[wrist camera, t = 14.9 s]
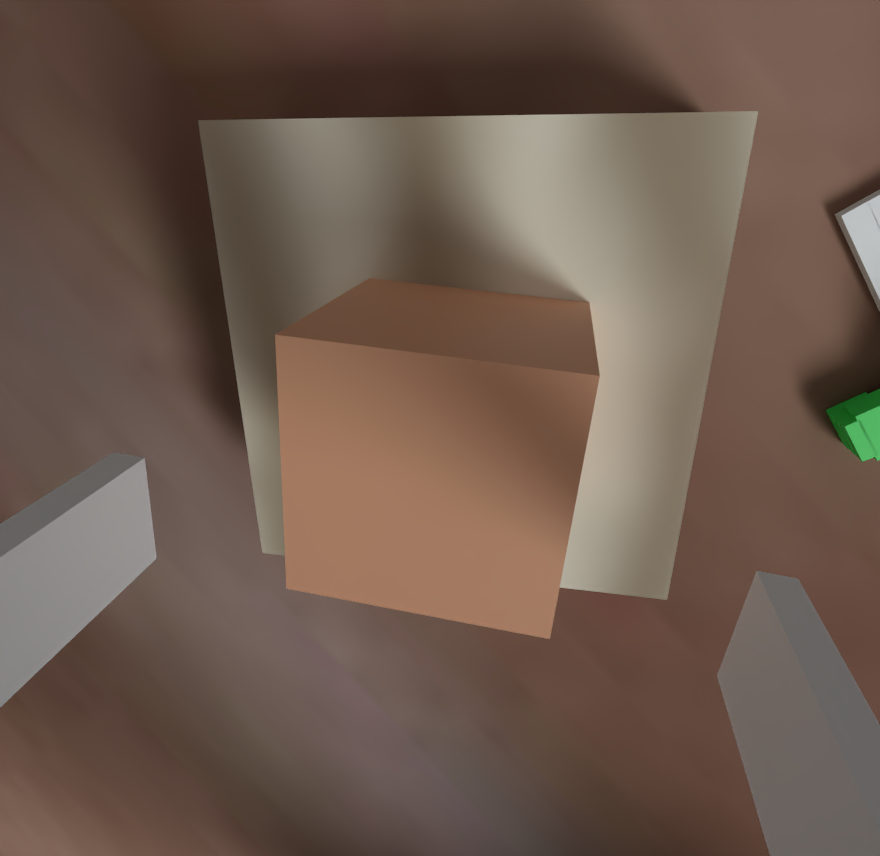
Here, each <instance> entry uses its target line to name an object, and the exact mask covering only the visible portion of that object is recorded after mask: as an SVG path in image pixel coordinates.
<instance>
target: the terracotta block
mask: <svg viewBox="0 0 880 856" xmlns="http://www.w3.org/2000/svg"><path fill="white" fill-rule="evenodd" d="M275 345H276V367H277V389H278V411H279V434H280V456H281V478H282V500H283V522H284V545H285V567H286V589H291V590H296V591H301V592H306V593H312V594H317V595H322V596H327V597H333V598H338V599H343V600H348V601H353V602H359V603H364V604H369V605H374V606H380V607H385V608H390V609H395V610H401V611H406V612H411V613H416V614H422V615H427V616H432V617H437V618H442V619H448V620H453V621H458V622H463V623H469V624H474V625H479V626H484V627H490V628H495V629H500V630H505V631H511V632H516V633H521V634H526V635H531V636H537V637H542V638H547V639H550V635H551V630H552V625H553V619H554V614H555V609H556V604H557V598H558V593H559V588H560V583H561V577H562V572H563V567H564V562H565V556H566V551H567V546H568V541H569V535H570V530H571V525H572V520H573V514H574V509H575V504H576V499H577V493H578V488H579V483H580V478H581V472H582V467H583V462H584V457H585V451H586V446H587V441H588V436H589V430H590V425H591V420H592V415H593V409H594V404H595V399H596V394H597V388H598V383H599V378H600V373H599V366H598V359H597V352H596V345H595V338H594V331H593V324H592V317H591V310H590V303H589V302H582V301H573V300H564V299H554V298H545V297H536V296H527V295H518V294H509V293H500V292H491V291H482V290H473V289H464V288H455V287H446V286H437V285H428V284H418V283H409V282H400V281H391V280H382V279H373V278H368V279H367V280H365V281H363V282H362V283H360V284H358V285H357V286H355V287H353V288H352V289H350V290H348V291H347V292H345V293H344V294H342V295H340V296H339V297H337V298H335V299H334V300H332V301H330V302H329V303H327V304H325V305H324V306H322V307H320V308H319V309H317V310H315V311H314V312H312V313H310V314H309V315H307V316H305V317H304V318H302V319H300V320H299V321H297V322H295V323H294V324H292V325H290V326H289V327H287V328H285V329H284V330H282V331H280V332H279V333H277V334H275Z"/></svg>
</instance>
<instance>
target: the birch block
mask: <svg viewBox="0 0 880 856" xmlns="http://www.w3.org/2000/svg"><path fill="white" fill-rule="evenodd" d="M757 115H758V111H744V112H681V113H619V114H556V115H493V116H430V117H368V118H305V119H242V120H198V124H199V131H200V138H201V144H202V151H203V158H204V165H205V171H206V178H207V185H208V191H209V198H210V205H211V211H212V218H213V225H214V231H215V238H216V245H217V252H218V258H219V265H220V272H221V278H222V285H223V292H224V298H225V305H226V312H227V319H228V325H229V332H230V339H231V345H232V352H233V359H234V365H235V372H236V379H237V385H238V392H239V399H240V406H241V412H242V419H243V426H244V432H245V439H246V446H247V452H248V459H249V466H250V472H251V479H252V486H253V493H254V499H255V506H256V513H257V519H258V526H259V533H260V539H261V546H262V553H267V554H276V555H285V545H284V522H283V500H282V478H281V456H280V434H279V411H278V389H277V367H276V345H275V334H277V333H279V332H280V331H282V330H284V329H285V328H287V327H289V326H290V325H292V324H294V323H295V322H297V321H299V320H300V319H302V318H304V317H305V316H307V315H309V314H310V313H312V312H314V311H315V310H317V309H319V308H320V307H322V306H324V305H325V304H327V303H329V302H330V301H332V300H334V299H335V298H337V297H339V296H340V295H342V294H344V293H345V292H347V291H348V290H350V289H352V288H353V287H355V286H357V285H358V284H360V283H362V282H363V281H365V280H367V279H368V278H373V279H382V280H391V281H400V282H409V283H418V284H428V285H437V286H446V287H455V288H464V289H473V290H482V291H491V292H500V293H509V294H518V295H527V296H536V297H545V298H554V299H564V300H573V301H582V302H589V303H590V310H591V317H592V324H593V331H594V338H595V345H596V352H597V359H598V366H599V373H600V378H599V383H598V388H597V394H596V399H595V404H594V409H593V415H592V420H591V425H590V430H589V436H588V441H587V446H586V451H585V457H584V462H583V467H582V472H581V478H580V483H579V488H578V493H577V499H576V504H575V509H574V514H573V520H572V525H571V530H570V535H569V541H568V546H567V551H566V556H565V562H564V567H563V572H562V577H561V583H560V587H561V588H570V589H578V590H587V591H596V592H604V593H613V594H621V595H630V596H639V597H647V598H656V599H665V600H667V597H668V592H669V587H670V581H671V576H672V570H673V565H674V560H675V554H676V549H677V544H678V538H679V533H680V528H681V522H682V517H683V512H684V506H685V501H686V495H687V490H688V485H689V479H690V474H691V469H692V463H693V458H694V453H695V447H696V442H697V436H698V431H699V426H700V420H701V415H702V410H703V404H704V399H705V394H706V388H707V383H708V378H709V372H710V367H711V361H712V356H713V351H714V345H715V340H716V335H717V329H718V324H719V319H720V313H721V308H722V302H723V297H724V292H725V286H726V281H727V276H728V270H729V265H730V260H731V254H732V249H733V244H734V238H735V233H736V227H737V222H738V217H739V211H740V206H741V201H742V195H743V190H744V185H745V179H746V174H747V168H748V163H749V158H750V152H751V147H752V142H753V136H754V131H755V126H756V120H757Z"/></svg>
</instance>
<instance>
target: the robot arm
mask: <svg viewBox="0 0 880 856" xmlns="http://www.w3.org/2000/svg"><path fill="white" fill-rule="evenodd" d="M155 559H156V549H155V541H154V533H153V524H152V516H151V507H150V499H149V491H148V482H147V474H146V466H145V458H142V457H137V456H132V455H126V454H121V453H115V452H113V453H112V454H110V455H108V456H107V457H105V458H104V459H102V460H101V461H99V462H97V463H96V464H94V465H93V466H91V467H89V468H88V469H86V470H85V471H83V472H81V473H80V474H78V475H77V476H75V477H74V478H72V479H70V480H69V481H67V482H66V483H64V484H62V485H61V486H59V487H58V488H56V489H55V490H53V491H51V492H50V493H48V494H47V495H45V496H43V497H42V498H40V499H39V500H37V501H35V502H34V503H32V504H31V505H29V506H28V507H26V508H24V509H23V510H21V511H20V512H18V513H16V514H15V515H13V516H12V517H10V518H8V519H7V520H5V521H4V522H2V523H1V524H0V707H1V706H2V705H3V704H4V703H6V702H7V701H8V700H9V699H10V698H11V697H12V696H13V695H14V694H15V693H16V692H17V691H18V690H19V689H20V688H21V687H22V686H23V685H24V684H25V683H26V682H28V681H29V680H30V679H31V678H32V677H33V676H34V675H35V674H36V673H37V672H38V671H39V670H40V669H41V668H42V667H43V666H44V665H45V664H46V663H47V662H48V661H50V660H51V659H52V658H53V657H54V656H55V655H56V654H57V653H58V652H59V651H60V650H61V649H62V648H63V647H64V646H65V645H66V644H67V643H68V642H69V641H71V640H72V639H73V638H74V637H75V636H76V635H77V634H78V633H79V632H80V631H81V630H82V629H83V628H84V627H85V626H86V625H87V624H88V623H89V622H90V621H91V620H93V619H94V618H95V617H96V616H97V615H98V614H99V613H100V612H101V611H102V610H103V609H104V608H105V607H106V606H107V605H108V604H109V603H110V602H111V601H112V600H113V599H115V598H116V597H117V596H118V595H119V594H120V593H121V592H122V591H123V590H124V589H125V588H126V587H127V586H128V585H129V584H130V583H131V582H132V581H133V580H134V579H135V578H137V577H138V576H139V575H140V574H141V573H142V572H143V571H144V570H145V569H146V568H147V567H148V566H149V565H150V564H151V563H152V562H153V561H154V560H155ZM717 677H718V680H719V684H720V687H721V691H722V694H723V697H724V701H725V704H726V708H727V711H728V714H729V718H730V721H731V725H732V728H733V731H734V735H735V738H736V742H737V745H738V748H739V752H740V755H741V759H742V762H743V765H744V769H745V772H746V776H747V779H748V782H749V786H750V789H751V793H752V796H753V799H754V803H755V806H756V810H757V813H758V816H759V820H760V823H761V827H762V830H763V834H764V837H765V840H766V844H767V847H768V851H769V854H770V856H880V724H879V723H878V721H877V719H876V717H875V715H874V714H873V712H872V710H871V708H870V707H869V705H868V703H867V701H866V699H865V698H864V696H863V694H862V692H861V690H860V689H859V687H858V685H857V683H856V682H855V680H854V678H853V676H852V674H851V673H850V671H849V669H848V667H847V665H846V664H845V662H844V660H843V658H842V656H841V655H840V653H839V651H838V649H837V648H836V646H835V644H834V642H833V640H832V639H831V637H830V635H829V633H828V631H827V630H826V628H825V626H824V624H823V623H822V621H821V619H820V617H819V615H818V614H817V612H816V610H815V608H814V606H813V605H812V603H811V601H810V599H809V598H808V596H807V594H806V592H805V590H804V589H803V587H802V585H801V583H800V581H799V580H798V579H797V578H791V577H786V576H781V575H775V574H770V573H764V572H759V571H756V574H755V577H754V579H753V582H752V584H751V587H750V590H749V592H748V595H747V598H746V600H745V603H744V606H743V608H742V611H741V614H740V616H739V619H738V621H737V624H736V627H735V629H734V632H733V635H732V637H731V640H730V643H729V645H728V648H727V650H726V653H725V656H724V658H723V661H722V664H721V666H720V669H719V672H718V674H717Z"/></svg>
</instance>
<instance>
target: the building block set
mask: <svg viewBox="0 0 880 856" xmlns="http://www.w3.org/2000/svg"><path fill="white" fill-rule="evenodd" d="M835 217H836V219H837V221H838V223H839V226H840V228H841V230H842V232H843V234H844V236H845V239H846V241H847V243H848V245H849V247H850V249H851V251H852V254H853V256H854V258H855V260H856V262H857V264H858V267H859V269H860V271H861V273H862V275H863V277H864V279H865V282H866V284H867V286H868V288H869V290H870V292H871V295H872V297H873V299H874V301H875V303H876V305H877V308H878V310H879V312H880V189H879V190H878V191H876V192H874V193H872V194H870V195H869V196H867V197H865V198H863V199H862V200H859V201H858V202H856V203H854V204H852V205H851V206H849V207H847V208H845V209H843V210H842V211H840V212H838V213H836V214H835ZM826 412H827V414H828V416H829V418H830V420H831V422H832V424H833V426H834V428H835V430H836V431H837V433H838V435H839V437H840V439H841V441H842V443H843V444H844V445H845V446H846V447H847V448H848V449H850V450H851V451H852V452H853V453H854V455H856V456H857V457H858V458H859V459H860V460H861V461H862V462H863V461H865V460H868V459H870V458H873V457H874V458H875V459H876V460H877V461H878V460H880V389H878V390H876V391H874V392H871V393H869V394H868V393H866V392H864V393H862V394H860V395H858V396H856V397H853V398H851V399H849V400H847V401H844V402H842V403H840V404H838V405H836V406H833V407H831V408H829V409H827V410H826Z"/></svg>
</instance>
